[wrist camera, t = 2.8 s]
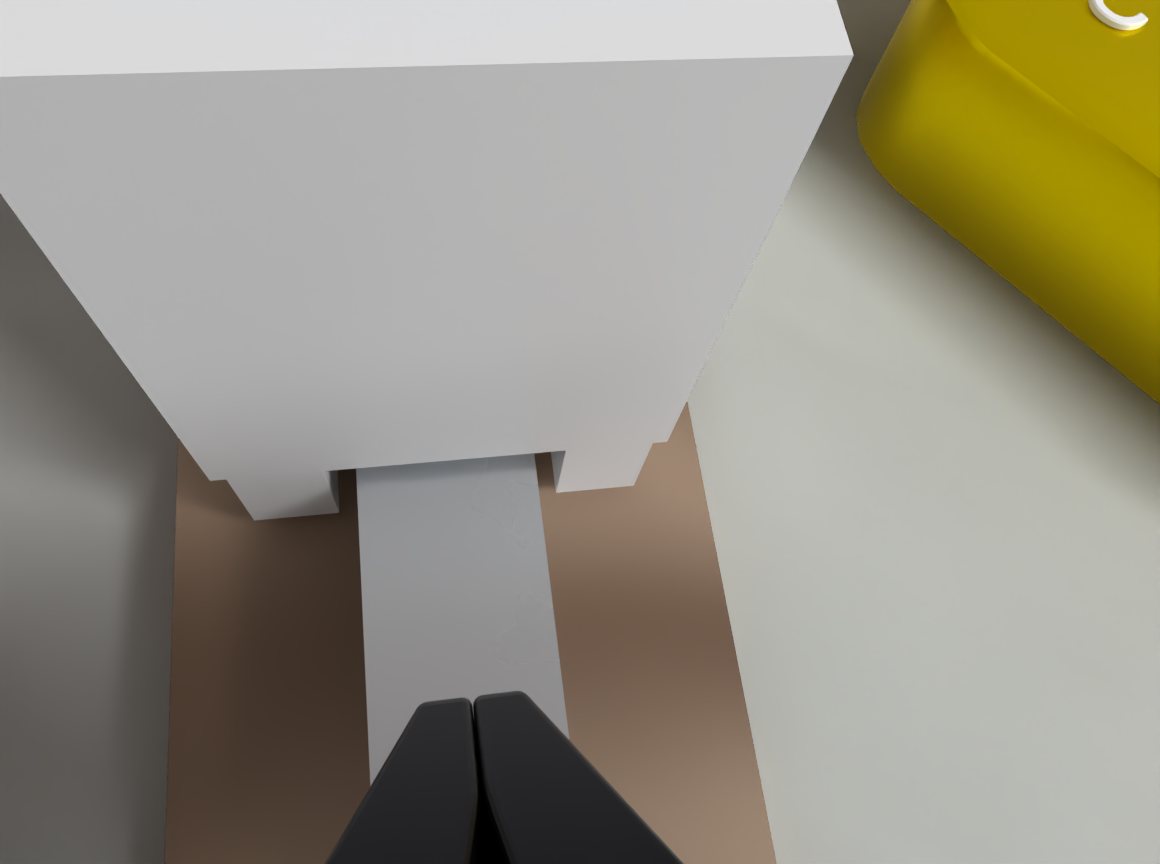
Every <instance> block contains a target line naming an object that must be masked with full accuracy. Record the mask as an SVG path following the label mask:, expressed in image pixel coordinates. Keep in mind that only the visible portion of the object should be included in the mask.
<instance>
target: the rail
mask: <svg viewBox="0 0 1160 864" xmlns="http://www.w3.org/2000/svg"><path fill="white" fill-rule="evenodd" d="M356 478H357V500H358V522H359V544H360V566H361V589H362V611H363V633H364V655H365V677H366V699H367V721H368V743H369V765H370V786H371V785H372V783H373V781H374V779H375V778H376V776H377V774H378V773H379V771H380V769H381V768H382V766H383V764H384V763H385V761H386V759H387V758H388V756H389V754H390V752H391V751H392V749H393V747H394V746H395V744H396V742H397V741H398V739H399V737H400V736H401V734H402V732H403V730H404V729H405V727H406V725H407V724H408V722H409V720H410V719H411V717H412V715H413V714H414V712H415V710H416V709H417V707H418V706H419V705H420V704H422V703H424V702H427V701H435V700H444V699H452V698H460V697H465V698H467V699H469V700H470V701H471V703H472V707H473V702H474V700H475V698H477V697H478V696H480V695H485V694H493V693H501V692H510V691H522V692H524V693H526V694H527V695H528V696H529V697H530V698H531V699H532V700H533V702H534V703H535V704H536V705H537V706H538V707H539V708H540V709H541V710H542V711H543V712H544V713H545V714H546V716H547V717H548V718H549V719H550V720H551V721H552V722H553V723H554V724H555V725H556V726H557V727H558V728H559V730H560V731H561V732H562V733H563V734H564V735H565V736H566V737H567V738H568V739H569V733H568V725H567V716H566V708H565V700H564V692H563V684H562V676H561V667H560V659H559V651H558V643H557V635H556V627H555V619H554V610H553V602H552V594H551V586H550V578H549V570H548V562H547V553H546V545H545V537H544V529H543V521H542V513H541V505H540V496H539V488H538V480H537V472H536V464H535V456H534V453H531V454H519V455H508V456H496V457H484V458H472V459H461V460H449V461H437V462H425V463H414V464H402V465H390V466H379V467H367V468H356ZM473 716H474V713H473Z"/></svg>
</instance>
